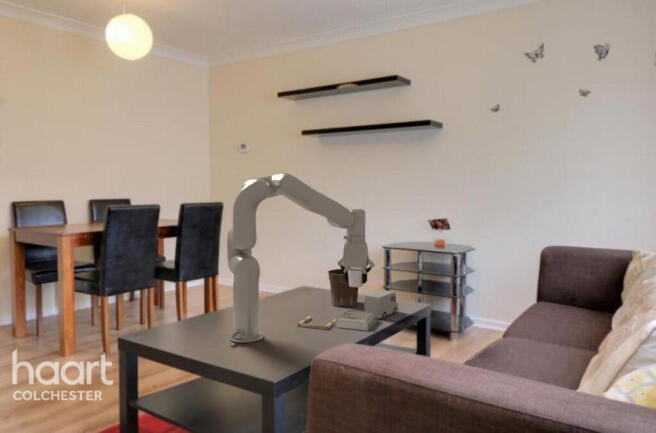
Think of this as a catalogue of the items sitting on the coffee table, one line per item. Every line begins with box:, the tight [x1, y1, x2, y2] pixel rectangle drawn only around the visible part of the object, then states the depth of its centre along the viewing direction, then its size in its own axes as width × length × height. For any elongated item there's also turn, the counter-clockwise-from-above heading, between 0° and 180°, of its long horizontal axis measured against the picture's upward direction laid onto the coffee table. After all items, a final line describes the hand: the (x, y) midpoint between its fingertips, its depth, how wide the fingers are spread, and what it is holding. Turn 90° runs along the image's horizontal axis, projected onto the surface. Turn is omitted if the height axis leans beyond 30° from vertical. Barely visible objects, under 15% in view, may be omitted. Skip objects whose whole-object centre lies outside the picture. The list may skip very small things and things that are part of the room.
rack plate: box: [334, 310, 378, 332], centre depth 200 cm, size 14×14×4 cm
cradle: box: [296, 315, 338, 331], centre depth 200 cm, size 12×13×1 cm
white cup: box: [348, 267, 364, 288], centre depth 198 cm, size 7×7×7 cm
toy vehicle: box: [364, 289, 399, 320], centre depth 214 cm, size 9×18×10 cm, turn 144°
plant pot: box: [327, 268, 359, 308], centre depth 233 cm, size 16×16×16 cm
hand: (355, 282), depth 199 cm, fingers closed on white cup, 6 cm apart
